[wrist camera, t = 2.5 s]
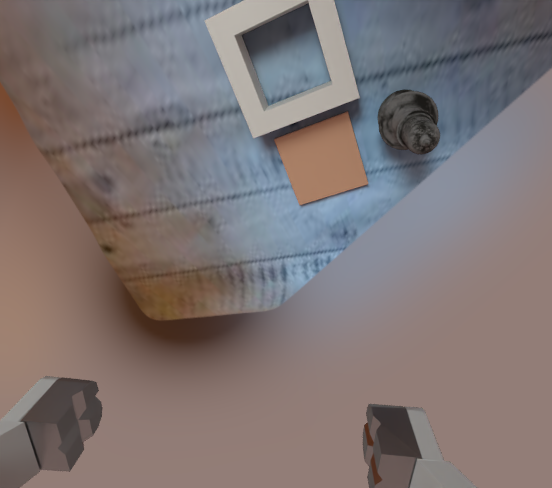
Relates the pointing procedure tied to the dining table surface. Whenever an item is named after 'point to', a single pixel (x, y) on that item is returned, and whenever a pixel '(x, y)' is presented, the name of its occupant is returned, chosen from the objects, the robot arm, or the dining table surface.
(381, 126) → the dark turned stone ornament
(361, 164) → the terracotta tile
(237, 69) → the socket block
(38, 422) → the robot arm
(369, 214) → the dining table surface
